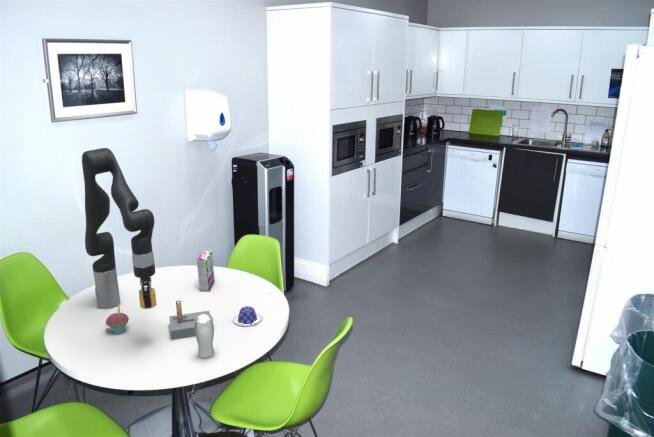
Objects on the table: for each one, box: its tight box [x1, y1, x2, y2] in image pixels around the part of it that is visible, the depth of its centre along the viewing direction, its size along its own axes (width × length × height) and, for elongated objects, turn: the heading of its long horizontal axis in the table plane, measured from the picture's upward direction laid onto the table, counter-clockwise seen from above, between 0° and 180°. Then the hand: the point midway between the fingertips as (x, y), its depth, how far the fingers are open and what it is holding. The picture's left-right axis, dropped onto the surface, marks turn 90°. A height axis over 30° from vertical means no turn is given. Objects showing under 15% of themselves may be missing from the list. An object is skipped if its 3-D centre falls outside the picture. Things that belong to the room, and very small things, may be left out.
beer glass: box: [194, 314, 215, 359], centre depth 192 cm, size 7×7×15 cm
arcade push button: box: [138, 286, 157, 310], centre depth 197 cm, size 6×6×7 cm
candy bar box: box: [196, 250, 215, 292], centre depth 246 cm, size 11×5×16 cm, turn 179°
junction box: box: [169, 310, 211, 341], centre depth 211 cm, size 16×12×5 cm
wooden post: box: [175, 300, 183, 323], centre depth 208 cm, size 2×2×9 cm
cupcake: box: [105, 305, 130, 334], centre depth 209 cm, size 9×8×12 cm
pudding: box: [232, 305, 263, 327], centre depth 218 cm, size 12×12×5 cm
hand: (148, 303), depth 198 cm, fingers closed on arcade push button, 5 cm apart
